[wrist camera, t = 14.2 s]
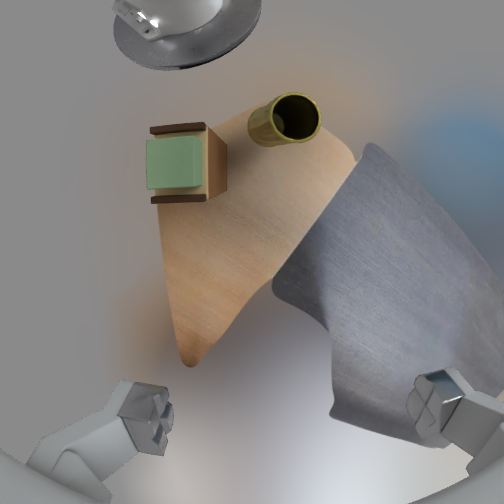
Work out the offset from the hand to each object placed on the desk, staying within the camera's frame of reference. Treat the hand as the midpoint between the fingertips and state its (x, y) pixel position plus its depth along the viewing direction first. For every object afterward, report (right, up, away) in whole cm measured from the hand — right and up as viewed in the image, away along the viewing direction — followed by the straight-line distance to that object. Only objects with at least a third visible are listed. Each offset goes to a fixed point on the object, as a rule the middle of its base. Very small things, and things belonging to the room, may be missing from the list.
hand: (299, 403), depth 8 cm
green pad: (-8, +12, +16) cm, 21 cm away
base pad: (-8, +17, +32) cm, 37 cm away
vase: (+1, +23, +30) cm, 38 cm away
